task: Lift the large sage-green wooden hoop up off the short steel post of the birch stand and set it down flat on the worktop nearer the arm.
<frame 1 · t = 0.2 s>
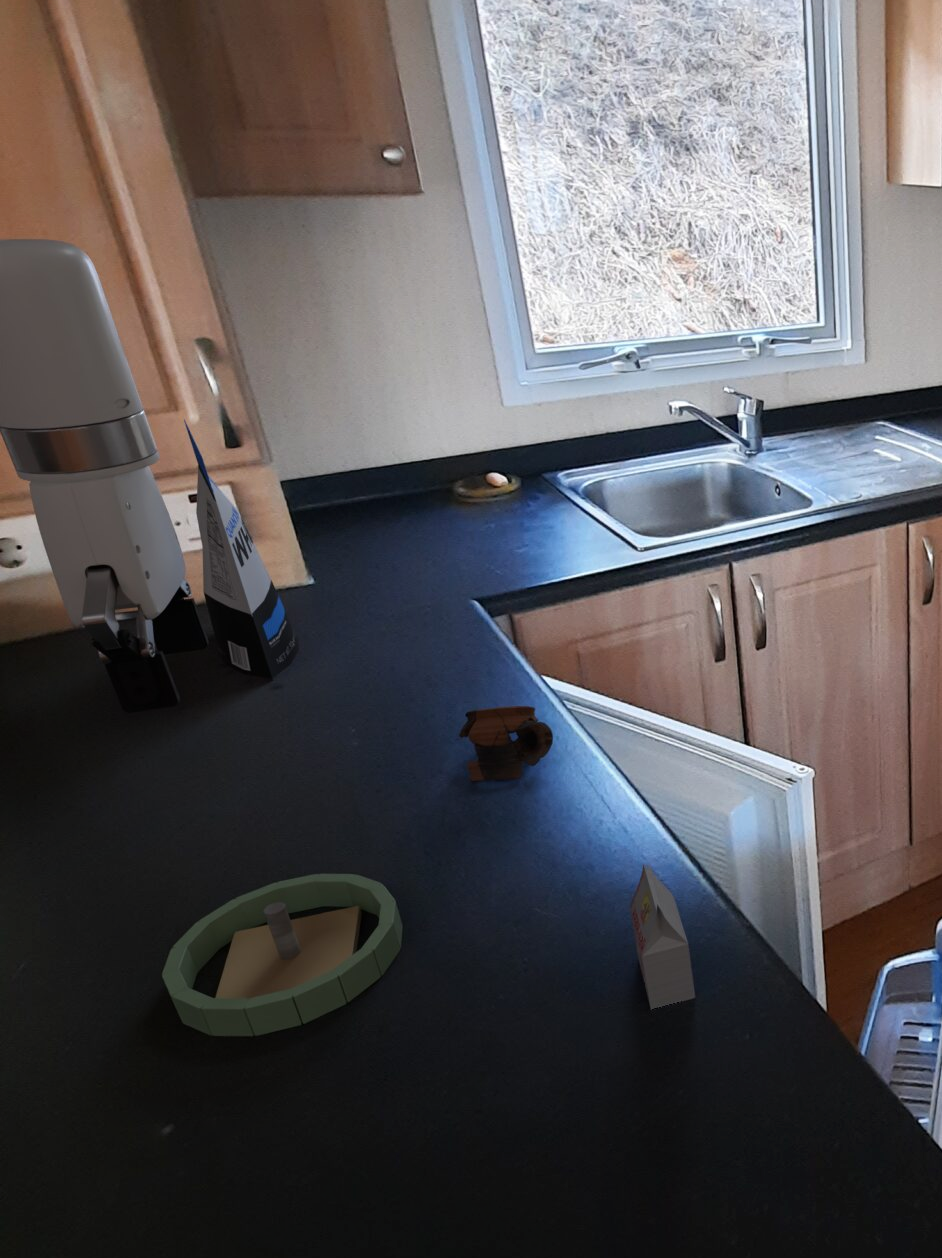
hand: (169, 677, 76), 30 cm above the countertop, tool pointing down, fingers open, 9 cm apart
pottery mug: (514, 764, 122), on the countertop
stand: (293, 961, 92), on the countertop
hoop: (293, 962, 92), on the countertop
gable top carton: (666, 979, 91), on the countertop
protein powder: (260, 649, 147), on the countertop
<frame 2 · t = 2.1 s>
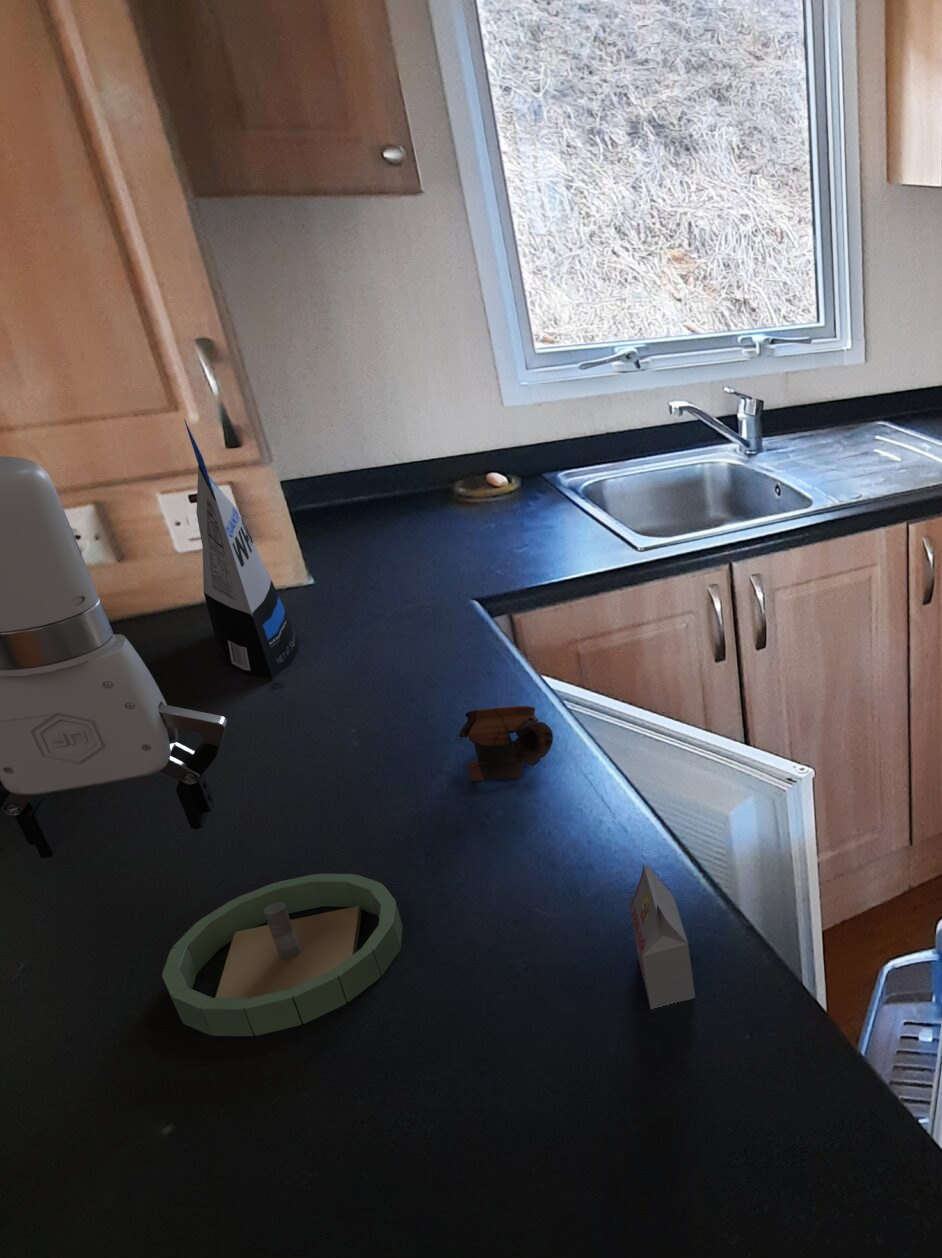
hand: (129, 833, 82), 16 cm above the countertop, tool pointing down, fingers open, 9 cm apart
nothing on the countertop moved.
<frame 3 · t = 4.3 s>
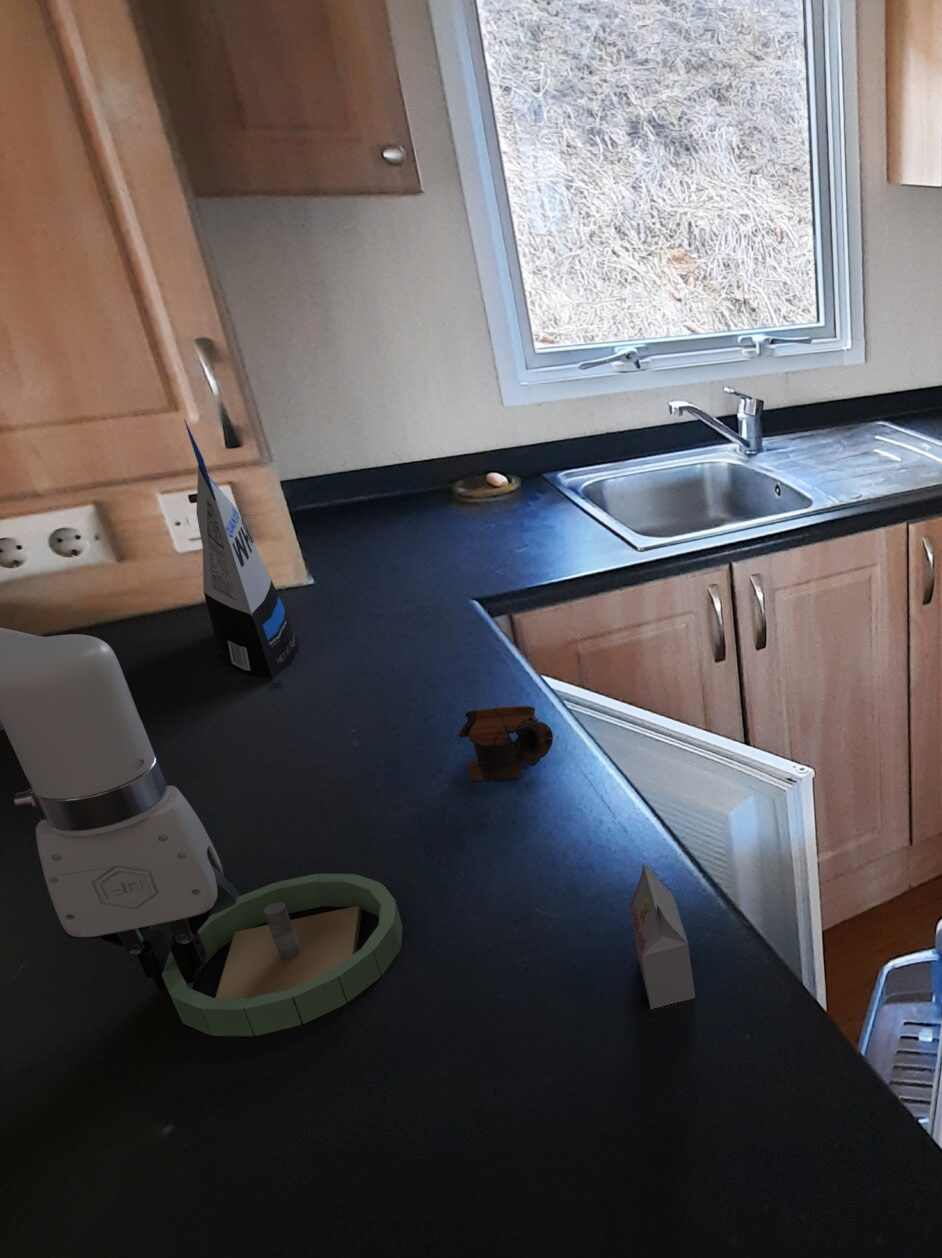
hand: (181, 974, 89), 1 cm above the countertop, tool pointing down, fingers closed on hoop
hoop: (293, 961, 92), on the countertop, touching gripper
everything else where it was.
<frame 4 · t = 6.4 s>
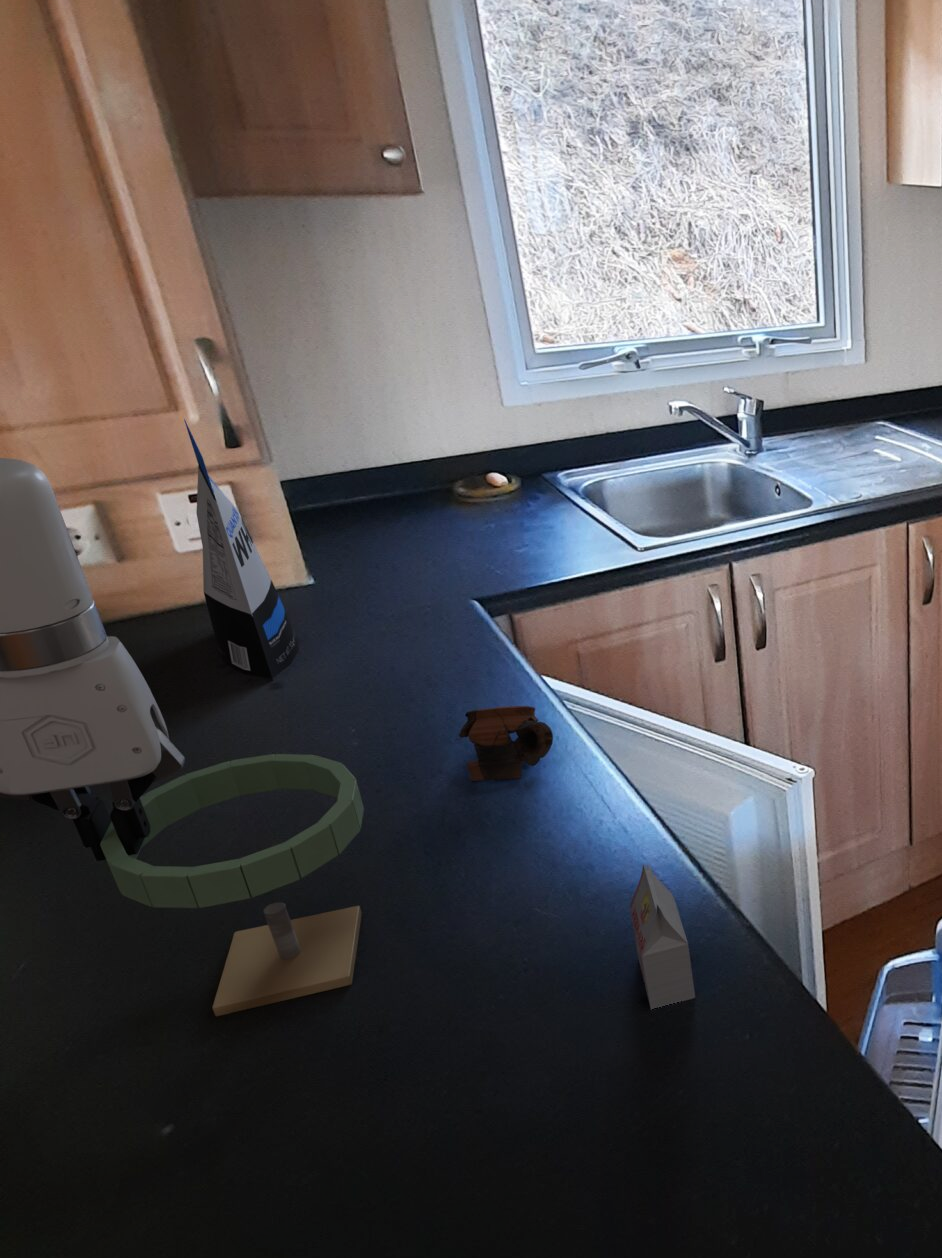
hand: (122, 846, 83), 15 cm above the countertop, tool pointing down, fingers closed on hoop
hoop: (244, 839, 86), point 13 cm above the countertop, touching gripper
everything else where it was.
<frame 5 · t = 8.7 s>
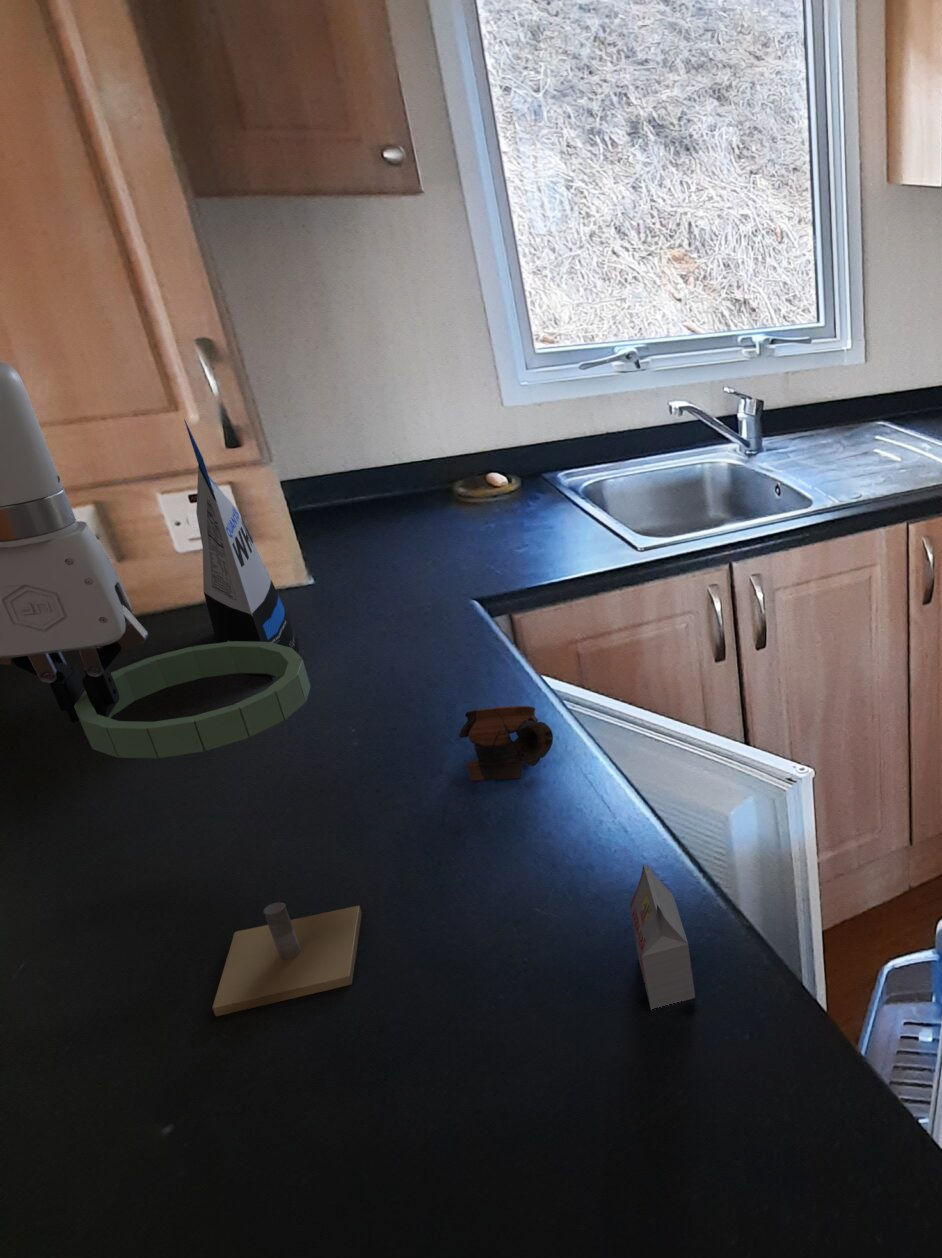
hand: (94, 712, 94), 18 cm above the countertop, tool pointing down, fingers closed on hoop
hoop: (203, 709, 97), point 17 cm above the countertop, touching gripper
everything else where it was.
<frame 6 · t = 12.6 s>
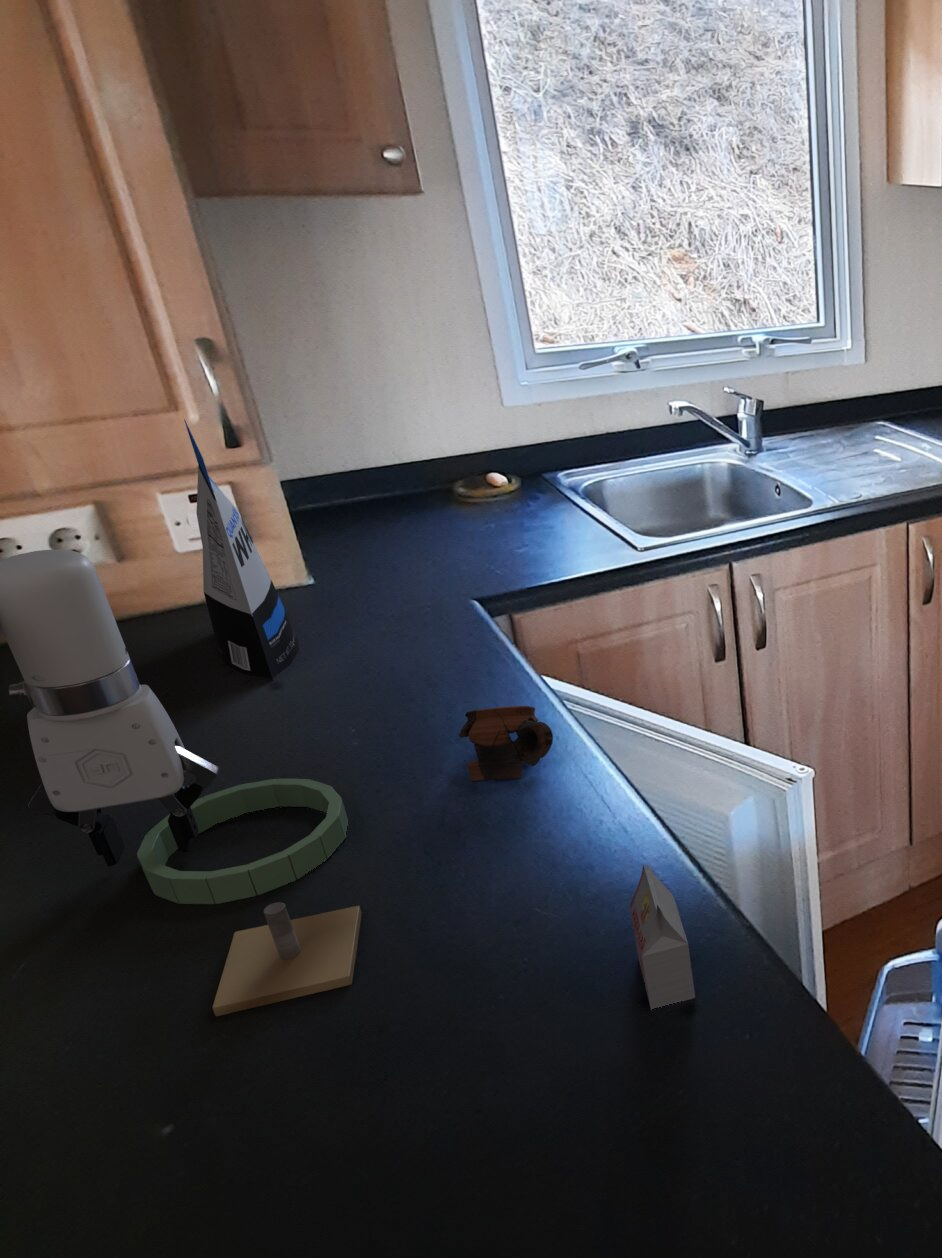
hand: (152, 849, 103), 2 cm above the countertop, tool pointing down, fingers open, 5 cm apart
hoop: (252, 849, 106), on the countertop
everything else where it was.
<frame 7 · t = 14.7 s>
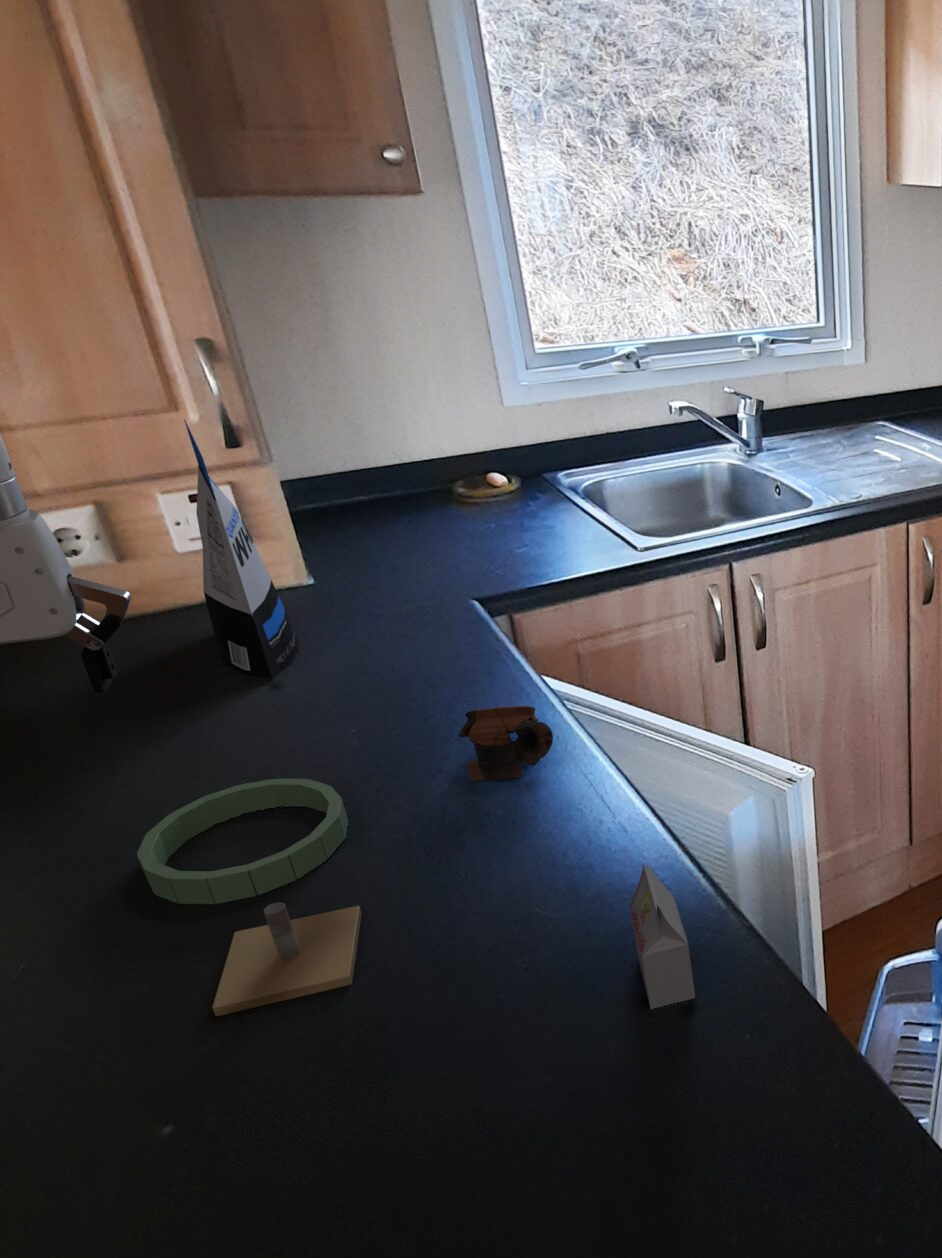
hand: (37, 694, 91), 21 cm above the countertop, tool pointing down, fingers open, 9 cm apart
nothing on the countertop moved.
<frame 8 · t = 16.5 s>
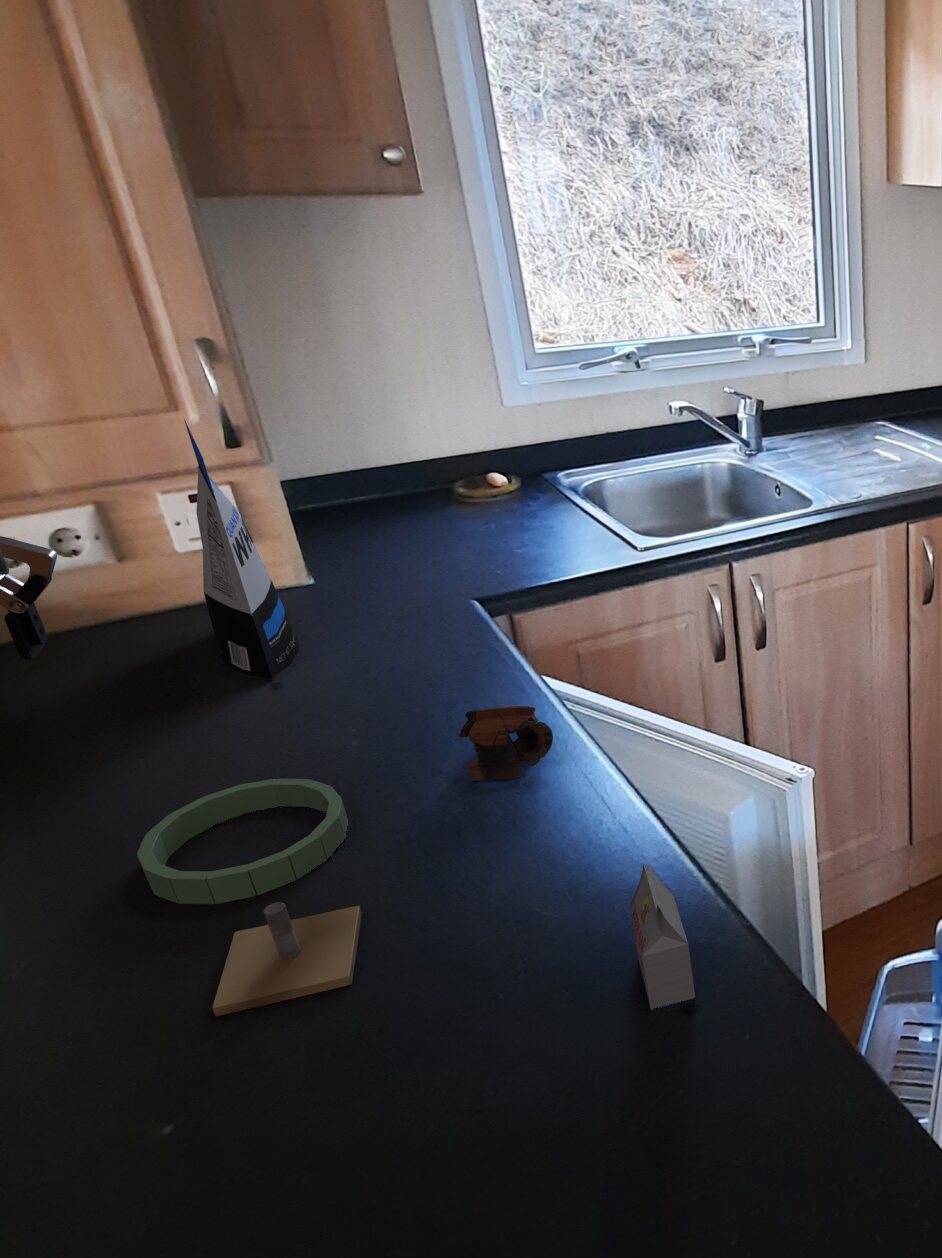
nothing on the countertop moved.
at the end: hoop inside the target area (0.1 cm from its centre), on the countertop; hoop touching countertop; the gripper is holding nothing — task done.
